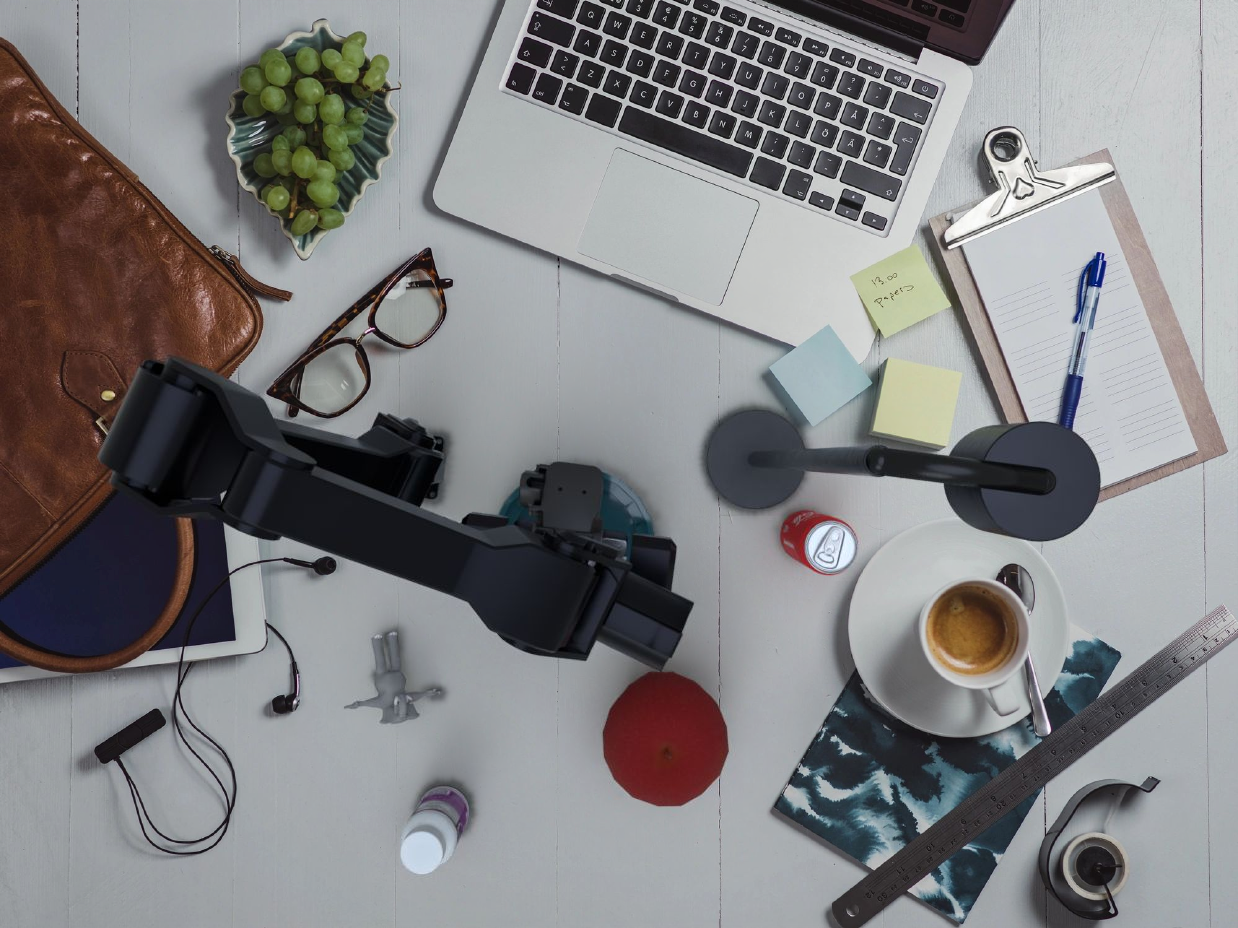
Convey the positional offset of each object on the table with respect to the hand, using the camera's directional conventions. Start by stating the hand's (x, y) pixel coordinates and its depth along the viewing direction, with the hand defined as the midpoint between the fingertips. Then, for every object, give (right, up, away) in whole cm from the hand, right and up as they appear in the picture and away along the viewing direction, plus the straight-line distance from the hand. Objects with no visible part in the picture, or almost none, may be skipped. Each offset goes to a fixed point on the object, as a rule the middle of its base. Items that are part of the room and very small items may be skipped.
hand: (573, 549), depth 81 cm
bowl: (0, 0, +5) cm, 5 cm away
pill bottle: (-14, -27, +6) cm, 31 cm away
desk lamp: (+21, +8, +4) cm, 23 cm away
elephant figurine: (-19, -14, +6) cm, 24 cm away
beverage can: (+23, +1, +5) cm, 24 cm away
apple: (+9, -17, +5) cm, 20 cm away
